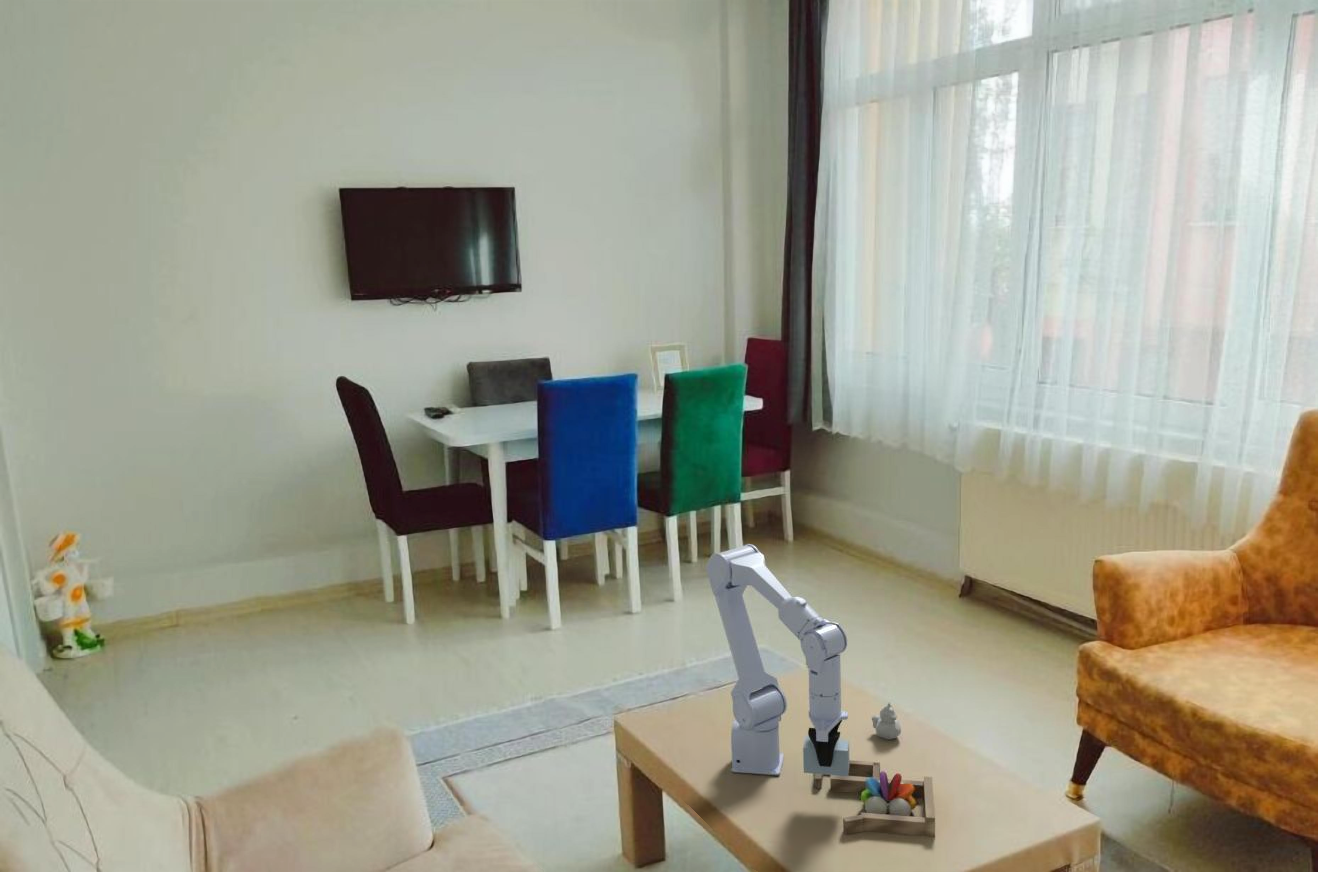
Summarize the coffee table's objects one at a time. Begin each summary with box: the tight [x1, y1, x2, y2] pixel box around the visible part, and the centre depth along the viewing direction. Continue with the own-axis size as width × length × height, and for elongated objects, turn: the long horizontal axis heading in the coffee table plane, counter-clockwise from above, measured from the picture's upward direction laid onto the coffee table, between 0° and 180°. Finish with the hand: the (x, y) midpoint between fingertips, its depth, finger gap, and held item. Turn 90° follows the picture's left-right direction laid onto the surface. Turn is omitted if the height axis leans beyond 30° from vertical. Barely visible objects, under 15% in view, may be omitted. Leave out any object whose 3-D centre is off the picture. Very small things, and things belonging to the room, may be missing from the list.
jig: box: [814, 759, 936, 838], centre depth 177 cm, size 22×22×4 cm
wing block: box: [802, 736, 850, 776], centre depth 177 cm, size 8×4×5 cm, turn 76°
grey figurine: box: [871, 701, 902, 740], centre depth 200 cm, size 5×7×8 cm
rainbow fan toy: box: [860, 770, 917, 816], centre depth 174 cm, size 8×10×7 cm
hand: (826, 759), depth 177 cm, fingers closed on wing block, 4 cm apart
